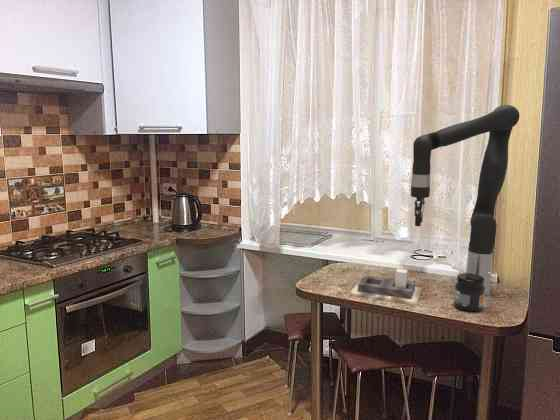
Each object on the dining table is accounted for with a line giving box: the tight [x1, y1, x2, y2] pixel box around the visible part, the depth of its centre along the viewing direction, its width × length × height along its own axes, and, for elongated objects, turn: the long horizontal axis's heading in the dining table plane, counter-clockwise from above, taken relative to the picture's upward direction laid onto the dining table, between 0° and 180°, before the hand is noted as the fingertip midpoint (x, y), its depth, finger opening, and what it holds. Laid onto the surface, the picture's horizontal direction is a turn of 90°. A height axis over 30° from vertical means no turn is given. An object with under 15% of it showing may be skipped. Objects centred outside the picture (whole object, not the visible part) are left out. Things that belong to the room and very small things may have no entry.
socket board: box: [349, 275, 423, 306], centre depth 195 cm, size 26×18×4 cm
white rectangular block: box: [394, 268, 408, 288], centre depth 192 cm, size 4×4×9 cm
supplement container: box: [453, 272, 485, 312], centre depth 180 cm, size 10×10×12 cm
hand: (418, 224), depth 200 cm, fingers open, 8 cm apart
